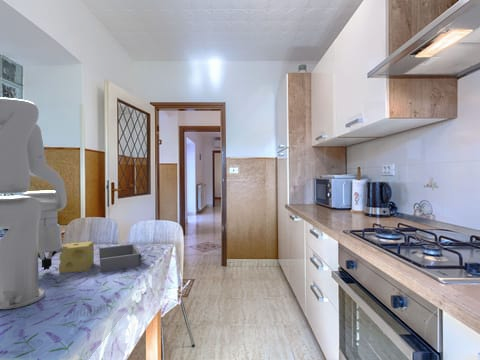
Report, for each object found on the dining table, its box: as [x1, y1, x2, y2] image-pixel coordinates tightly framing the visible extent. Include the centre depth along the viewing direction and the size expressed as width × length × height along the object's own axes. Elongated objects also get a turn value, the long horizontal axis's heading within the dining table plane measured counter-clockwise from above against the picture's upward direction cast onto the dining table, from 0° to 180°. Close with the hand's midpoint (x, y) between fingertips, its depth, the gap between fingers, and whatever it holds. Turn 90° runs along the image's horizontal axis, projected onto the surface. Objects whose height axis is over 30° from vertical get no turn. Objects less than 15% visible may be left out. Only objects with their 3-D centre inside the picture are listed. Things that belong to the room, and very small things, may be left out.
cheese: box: [58, 241, 95, 274], centre depth 112 cm, size 10×11×10 cm
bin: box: [98, 243, 142, 273], centre depth 119 cm, size 20×15×5 cm
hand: (46, 268), depth 107 cm, fingers closed
